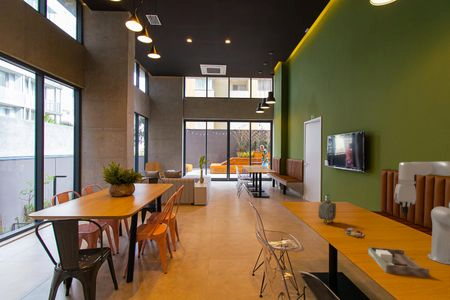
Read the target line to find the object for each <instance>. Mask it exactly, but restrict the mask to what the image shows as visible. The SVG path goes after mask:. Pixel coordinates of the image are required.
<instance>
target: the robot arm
mask: <svg viewBox="0 0 450 300" xmlns="http://www.w3.org/2000/svg"><path fill="white" fill-rule="evenodd" d="M415 175H417V176H428V175H437V176H442V177H443V176H444V177H446V176H447V177H449V176H450V161H448V160H447V161H444V160H443V161H411V162H407V161H405V162H404V161H401V162H399V164H398V180H397V181H398V182H397V183H396V186H395V188H394V189H395V190H394V194H393V195H394V196H393V198H394V203H395V204H398V205H400V206H401V208H400V209H401V213H402V214H408V213H409V208H410V206H412V205H415V204H416V201H417V190H416V186H415V185H416V184H417V181H415ZM430 218H431V222H432V223H431V224H432V225H431V226H432V230H431V252H430V253H428V254H427V257H428V259H430V260H432V261H434V262H438V263H440V264H444V265H450V202H449V203H448V207H446V206H435V207H434V208H433V209H432V210H431V212H430Z"/></svg>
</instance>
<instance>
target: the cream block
mask: <svg viewBox="0 0 450 300" xmlns="http://www.w3.org/2000/svg"><path fill="white" fill-rule="evenodd" d="M376 254H377V255H379V256H380V257H381V258H382V259H383V260H384V261H386V262H392V254H391V253H389V252H388V251H387V250H376Z"/></svg>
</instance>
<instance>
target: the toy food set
mask: <svg viewBox="0 0 450 300" xmlns="http://www.w3.org/2000/svg"><path fill="white" fill-rule="evenodd" d="M343 231H344V233H345V234H346V236H350V237H353V238H362V237H364V235H365V234H364V232H363V231H362V230H359V229H357V228H354V227H349V228H346V229H343Z"/></svg>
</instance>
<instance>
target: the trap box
mask: <svg viewBox="0 0 450 300" xmlns="http://www.w3.org/2000/svg"><path fill="white" fill-rule="evenodd" d="M376 250H387V251H388V252H389V253H391V254H392V262H386V261H384V260H383V259H382V258H381V257H380V256H379V255H377V254H376ZM367 255H369V256H370V257H371V259H373V261H375V263H377V265H378V266H379V267H380V268H381V269H382V270H383V271H384V272H385V273H386V274H396V275H405V276H413V277H414V276H416V277H423V278H430V269H429V268H426V267H421V266H420V265H419V264H418V263H416V262H415V261H414V260H413V259H411V258H410V257H408V256H407V255H406V254H405V250H404V249H398V248H397V249H394V248H384V247H374V246H371V247H370V246H368V247H367Z"/></svg>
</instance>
